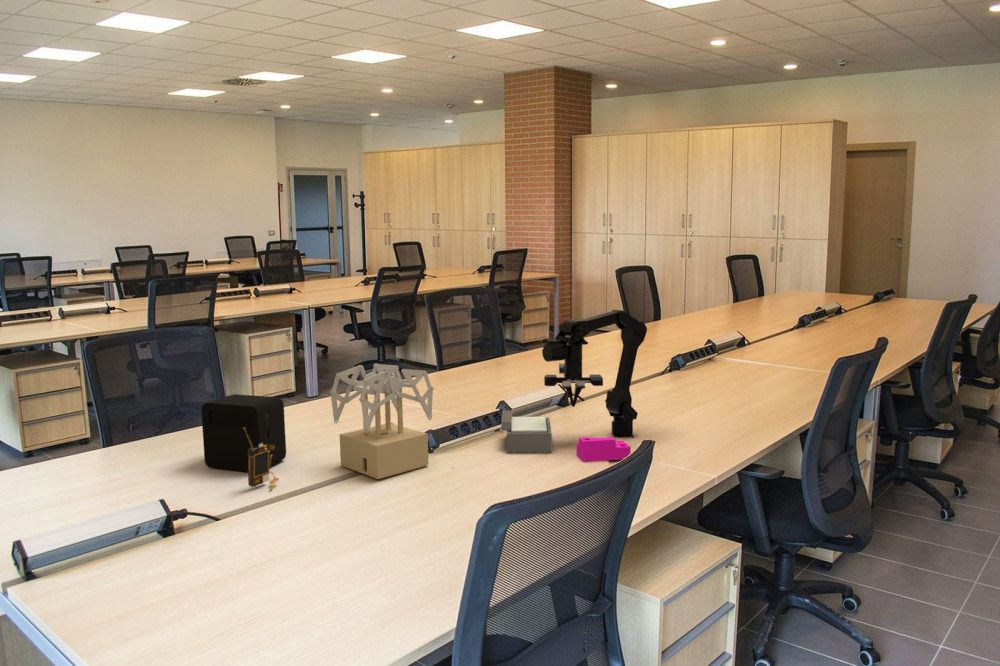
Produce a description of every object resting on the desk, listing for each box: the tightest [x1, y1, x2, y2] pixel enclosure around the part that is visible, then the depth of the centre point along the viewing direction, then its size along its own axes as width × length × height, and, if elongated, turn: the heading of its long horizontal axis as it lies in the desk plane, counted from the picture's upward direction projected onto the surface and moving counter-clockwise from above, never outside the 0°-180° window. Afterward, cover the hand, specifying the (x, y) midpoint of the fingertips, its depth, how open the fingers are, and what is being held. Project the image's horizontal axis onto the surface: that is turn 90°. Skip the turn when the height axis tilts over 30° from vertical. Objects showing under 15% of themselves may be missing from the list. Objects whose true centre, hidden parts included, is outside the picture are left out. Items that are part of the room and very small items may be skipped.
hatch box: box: [506, 416, 553, 454], centre depth 252 cm, size 14×21×6 cm, turn 178°
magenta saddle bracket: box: [575, 436, 632, 463], centre depth 237 cm, size 15×6×8 cm
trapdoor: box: [500, 409, 547, 432], centre depth 252 cm, size 14×18×3 cm
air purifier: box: [200, 393, 287, 473], centre depth 234 cm, size 20×15×20 cm
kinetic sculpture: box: [329, 363, 435, 480], centre depth 230 cm, size 25×20×30 cm
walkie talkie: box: [243, 427, 280, 489], centre depth 215 cm, size 13×13×18 cm
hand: (573, 406), depth 250 cm, fingers closed
